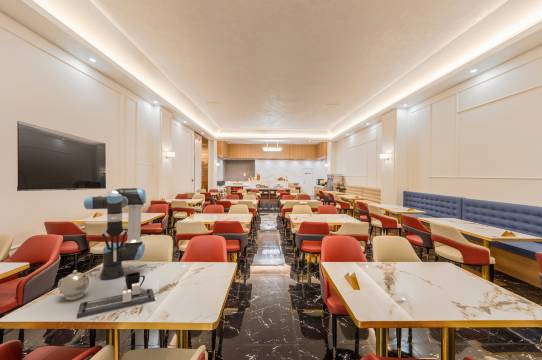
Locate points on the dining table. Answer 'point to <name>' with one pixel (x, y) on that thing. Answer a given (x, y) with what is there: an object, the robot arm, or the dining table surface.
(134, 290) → the fader
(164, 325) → the dining table surface
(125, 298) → the fader
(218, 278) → the dining table surface
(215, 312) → the dining table surface
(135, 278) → the mug
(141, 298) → the console
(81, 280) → the teapot
